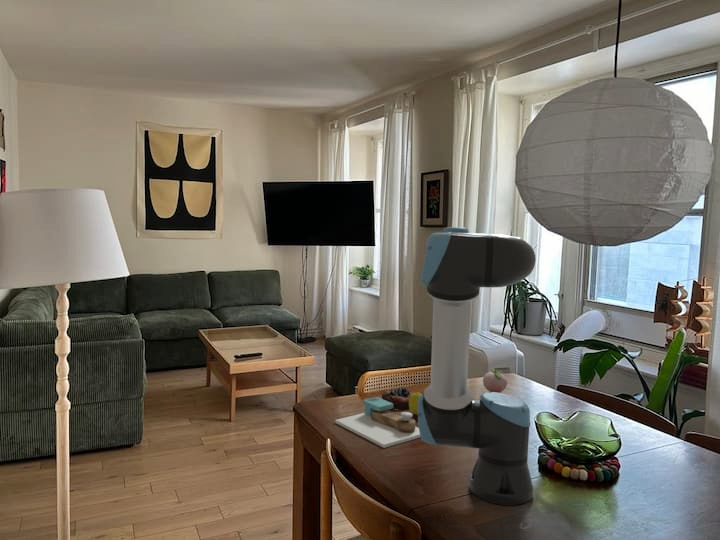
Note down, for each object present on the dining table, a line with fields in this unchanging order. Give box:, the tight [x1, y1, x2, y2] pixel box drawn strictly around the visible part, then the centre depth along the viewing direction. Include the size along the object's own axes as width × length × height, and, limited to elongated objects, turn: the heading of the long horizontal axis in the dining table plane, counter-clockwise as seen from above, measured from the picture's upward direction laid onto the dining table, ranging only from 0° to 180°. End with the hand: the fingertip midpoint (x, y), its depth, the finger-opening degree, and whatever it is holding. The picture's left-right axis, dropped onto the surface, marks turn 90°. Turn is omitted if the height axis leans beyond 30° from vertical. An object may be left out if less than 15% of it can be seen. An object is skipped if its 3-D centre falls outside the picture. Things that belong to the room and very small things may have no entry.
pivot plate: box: [335, 411, 421, 449], centre depth 180 cm, size 24×18×6 cm
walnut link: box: [371, 410, 416, 432], centre depth 180 cm, size 16×6×2 cm, turn 44°
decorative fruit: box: [482, 368, 508, 393], centre depth 218 cm, size 9×8×10 cm
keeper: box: [363, 396, 393, 417], centre depth 188 cm, size 8×6×6 cm
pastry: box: [381, 387, 414, 411], centre depth 204 cm, size 11×12×6 cm
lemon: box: [408, 391, 423, 416], centre depth 193 cm, size 6×6×8 cm
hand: (450, 354), depth 177 cm, fingers closed
